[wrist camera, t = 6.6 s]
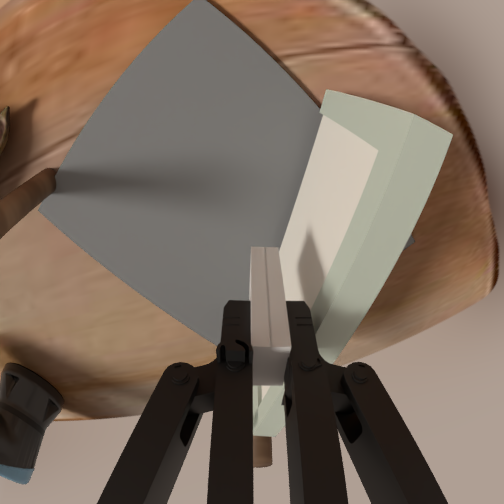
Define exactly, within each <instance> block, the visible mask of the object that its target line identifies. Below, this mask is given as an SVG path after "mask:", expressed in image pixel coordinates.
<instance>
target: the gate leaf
mask: <svg viewBox="0 0 504 504" xmlns="http://www.w3.org/2000/svg"><path fill="white" fill-rule="evenodd" d="M319 113H321V114H323V117H322V120H321V123H320V126H319V130H318V133H317V136H316V139H315V143H314V146H313V149H312V152H311V155H310V159H309V162H308V165H307V168H306V171H305V174H304V177H303V180H302V184H301V187H300V190H299V193H298V196H297V199H296V202H295V205H294V208H293V211H292V214H291V217H290V220H289V223H288V226H287V229H286V232H285V235H284V238H283V241H282V244H281V247H280V250H279V256H280V263H281V270H282V277H283V285H284V292H285V300H286V301H304V302H305V303H306V304H307V305H308V307H309V308H310V311H311V316H312V321H313V326H314V331H315V336H316V341H317V346H318V351H319V354H320V355H321V357H322V358H323V359H324V360H325V361H327V362H328V363H330V364H333V363H334V361H335V360H336V359H337V357H338V356H339V354H340V353H341V351H342V350H343V348H344V347H345V346H346V344H347V343H348V341H349V340H350V338H351V337H352V335H353V334H354V332H355V331H356V329H357V327H358V326H359V324H360V323H361V321H362V320H363V318H364V316H365V315H366V313H367V312H368V310H369V308H370V307H371V305H372V303H373V302H374V300H375V298H376V297H377V295H378V293H379V292H380V290H381V288H382V287H383V285H384V283H385V281H386V280H387V278H388V276H389V274H390V273H391V271H392V269H393V267H394V265H395V263H396V262H397V260H398V258H399V256H400V254H401V252H402V250H403V248H404V246H405V245H406V243H407V241H408V239H409V237H410V235H411V233H412V231H413V229H414V227H415V225H416V222H417V220H418V218H419V216H420V214H421V212H422V210H423V208H424V205H425V203H426V201H427V199H428V197H429V194H430V192H431V190H432V187H433V185H434V183H435V180H436V178H437V176H438V173H439V171H440V168H441V166H442V163H443V161H444V158H445V156H446V153H447V150H448V148H449V145H450V142H451V139H452V137H453V134H451V133H449V132H447V131H446V130H444V129H442V128H440V127H438V126H436V125H435V124H433V123H431V122H429V121H427V120H425V119H423V118H421V117H419V116H417V115H415V114H413V113H410V112H407V111H404V110H401V109H398V108H395V107H392V106H388V105H385V104H382V103H378V102H375V101H372V100H368V99H364V98H361V97H357V96H353V95H349V94H345V93H341V92H337V91H332V90H328V89H326V92H325V95H324V99H323V102H322V105H321V109H320V112H319ZM284 391H285V388H284V382H283V386H253V435H254V436H269V437H276V436H277V434H278V433H279V432H280V431H281V430H282V428H283V427H284V426H285V412H284V405H281V404H282V399H283V395H284Z"/></svg>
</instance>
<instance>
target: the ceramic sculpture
mask: <svg viewBox="0 0 504 504" xmlns="http://www.w3.org/2000/svg"><path fill="white" fill-rule="evenodd" d="M9 125H10V107H9V106H7V107H6V108H5V109H4V110H3V111H2V112H1V113H0V155H1V154H2V151H3V149H4V147H5V145H6V143H7V139H8V133H9Z"/></svg>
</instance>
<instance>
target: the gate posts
mask: <svg viewBox="0 0 504 504" xmlns="http://www.w3.org/2000/svg"><path fill="white" fill-rule="evenodd" d="M55 175H56V172H55V171H54V170H52V169H50V168H47V169H44V170H43V171H41V172H40V173H38V174H37V175H35V176H34V177H32V178H31V179H29V180H28V181H26V182H25V183H23V184H22V185H21V186H19V187H18V188H16V189H15V190H14V191H12V192H11V193H9V194H8V195H7V196H5V197H4V198H3V199H1V200H0V239H1V238H2V237H3V236H4V235H5V234H6V233H7V232H8V231H9V230H10V229H11V228H12V227H13V226H14V225H16V224H17V223H18V222H19V221H20V220H21V219H22V218H23V217H24V216H26V215H27V214H28V213H29V212H30V211H31V210H32V209H34V208H35V207H36V206H37V205H38V204H40V203H41V202H42V201H43V200H44V199H46V198H47V197H48V196H49V195H51V194H52V193H53V192H54V191H55V189H56V179H55ZM271 465H272V440H271V437H269V436H254V435H253V467H257V468H258V467H259V468H260V467H268V466H271Z"/></svg>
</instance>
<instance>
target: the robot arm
mask: <svg viewBox="0 0 504 504" xmlns="http://www.w3.org/2000/svg"><path fill="white" fill-rule="evenodd" d="M216 354H217V358H216V359H215V360H214V361H213V362H211V363H209V364H206V365H203V366H199V367H193V366H192V365H190V364H188V363H183V362H179V363H174V364H172V365H170V366H168V367H167V369H166V370H165V371H164V373H163V375H162V376H161V378H160V380H159V382H158V384H157V386H156V388H155V390H154V392H153V394H152V396H151V397H150V399H149V401H148V403H147V405H146V407H145V409H144V411H143V413H142V415H141V417H140V419H139V421H138V423H137V425H136V427H135V429H134V430H133V433H132V434H131V437H130V438H129V440H128V442H127V444H126V446H125V448H124V450H123V452H122V454H121V456H120V458H119V460H118V462H117V464H116V466H115V468H114V470H113V472H112V474H111V476H110V478H109V481H108V482H107V484H106V486H105V488H104V490H103V493H102V494H101V497H100V499H99V501H98V503H97V504H167V502H168V499H169V497H170V494H171V492H172V489H173V487H174V484H175V482H176V480H177V477H178V474H179V472H180V470H181V467H182V465H183V462H184V460H185V457H186V455H187V453H188V450H189V448H190V445H191V443H192V440H193V438H194V435H195V433H196V430H197V428H198V425H199V423H200V420H201V418H202V415H203V413H205V412H209V411H213V421H212V434H211V448H210V462H209V478H208V495H207V504H253V386H283V382H284V388H285V391H284V395H283V399H282V404H281V405H284V412H285V426H286V440H287V454H288V469H289V470H288V471H289V487H290V504H348V498H347V490H346V482H345V475H344V468H343V462H342V456H341V449H340V443H339V437H338V431H339V433H340V436H341V438H342V440H343V442H344V444H345V447H346V449H347V451H348V453H349V455H350V458H351V460H352V462H353V464H354V466H355V468H356V471H357V473H358V475H359V477H360V479H361V482H362V484H363V486H364V488H365V490H366V493H367V495H368V497H369V499H370V502H371V504H448V502H447V500H446V499H445V497H444V495H443V493H442V491H441V489H440V487H439V485H438V483H437V481H436V479H435V477H434V475H433V473H432V472H431V470H430V468H429V466H428V464H427V462H426V460H425V458H424V457H423V455H422V453H421V451H420V450H419V447H418V446H417V444H416V442H415V440H414V438H413V437H412V435H411V433H410V431H409V429H408V428H407V426H406V424H405V422H404V421H403V419H402V417H401V415H400V414H399V412H398V410H397V409H396V407H395V405H394V403H393V402H392V400H391V398H390V396H389V395H388V393H387V391H386V390H385V388H384V386H383V384H382V383H381V381H380V379H379V378H378V376H377V374H376V373H375V371H374V370H373V369H372V368H371V366H369V365H367V364H366V363H362V362H354V363H352V364H350V365H348V366H347V368H346V367H341V366H337V365H333V364H330V363H328V362H327V361H325V360H324V359H323V358H322V357H321V355H320V354H319V351H318V346H317V341H316V336H315V331H314V326H313V321H312V316H311V311H310V308H309V307H308V305H307V304H306V303H305V302H304V301H286V300H285V292H284V285H283V277H282V270H281V263H280V256H279V249H278V247H251V263H250V286H249V301H243V300H229V301H228V302H227V304H226V305H225V306H224V309H223V320H222V331H221V342H220V343H219V344H218V346H217V349H216ZM63 404H64V400H63V398H62V396H61V395H60V394H59V392H58V391H57V390H56V389H55V388H53V387H52V386H51V385H50V384H49V383H48V382H46V381H45V380H44V379H42V378H41V377H39V376H38V375H36V374H35V373H33V372H31V371H30V370H28V369H26V368H24V367H22V366H20V365H17V364H13V363H7V364H6V365H5V367H4V369H3V371H2V373H1V380H0V476H2V477H4V478H7V479H9V480H12V481H14V482H16V483H19V484H27V483H28V482H29V480H30V478H31V475H32V473H33V471H34V466H35V463H36V459H37V456H38V452H39V449H40V446H41V442H42V439H43V436H44V433H45V430H46V428H47V427H48V426H49V425H50V423H51V422H52V421H53V420H54V419H55V418H56V417H57V415H58V414H59V413H60V412H61V410H62V407H63ZM337 429H338V430H337Z"/></svg>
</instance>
